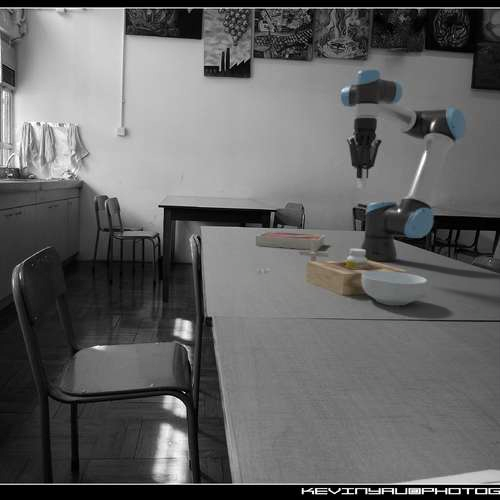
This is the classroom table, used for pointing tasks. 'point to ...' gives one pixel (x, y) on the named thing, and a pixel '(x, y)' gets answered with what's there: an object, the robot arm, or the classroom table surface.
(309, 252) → the pipe connector
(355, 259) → the pill bottle
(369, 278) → the cereal bowl
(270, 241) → the product packaging
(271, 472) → the classroom table surface
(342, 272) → the seat board
